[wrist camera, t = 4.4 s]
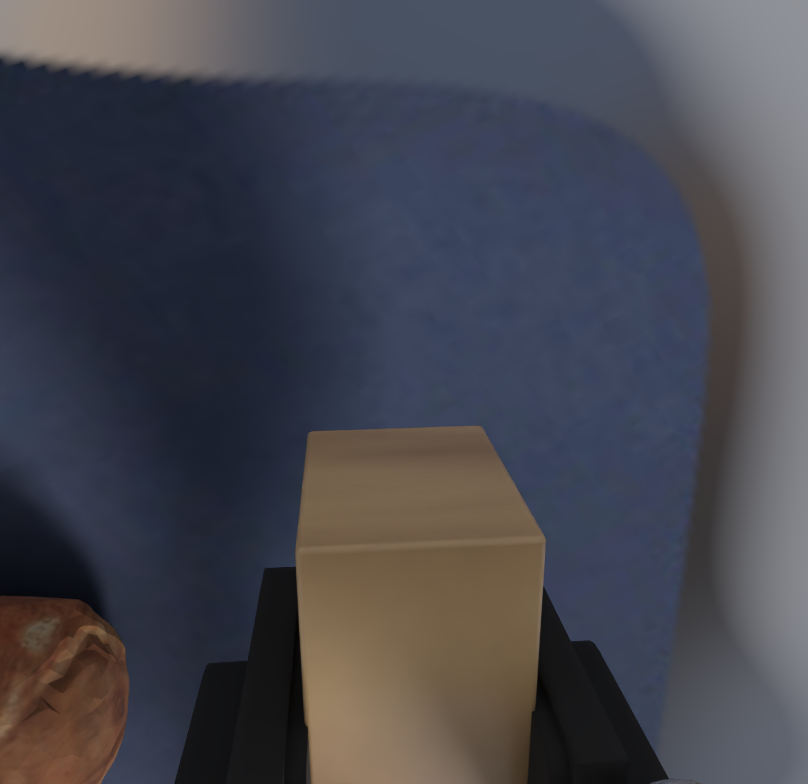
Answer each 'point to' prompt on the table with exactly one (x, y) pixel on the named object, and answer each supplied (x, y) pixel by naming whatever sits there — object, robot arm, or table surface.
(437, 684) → the knife
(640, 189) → the table surface
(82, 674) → the bread
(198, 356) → the table surface
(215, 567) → the table surface
